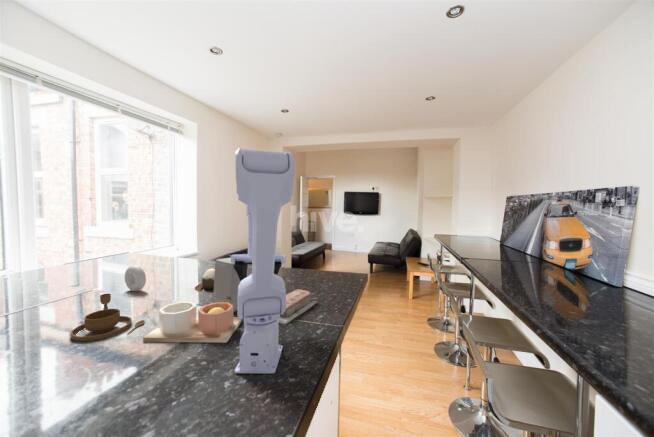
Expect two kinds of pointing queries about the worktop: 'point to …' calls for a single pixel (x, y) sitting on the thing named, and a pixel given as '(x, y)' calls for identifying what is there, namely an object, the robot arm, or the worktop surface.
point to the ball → (216, 310)
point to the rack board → (192, 334)
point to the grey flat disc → (135, 278)
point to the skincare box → (226, 282)
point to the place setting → (103, 322)
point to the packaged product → (296, 305)
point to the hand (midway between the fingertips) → (258, 288)
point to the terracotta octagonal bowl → (215, 318)
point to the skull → (207, 281)
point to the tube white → (177, 317)
